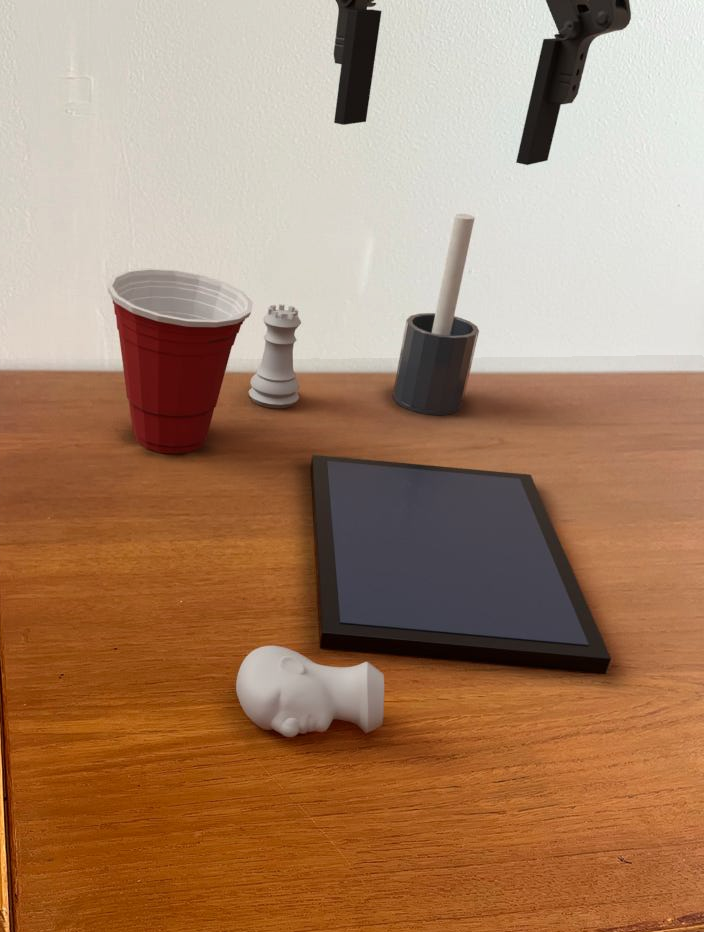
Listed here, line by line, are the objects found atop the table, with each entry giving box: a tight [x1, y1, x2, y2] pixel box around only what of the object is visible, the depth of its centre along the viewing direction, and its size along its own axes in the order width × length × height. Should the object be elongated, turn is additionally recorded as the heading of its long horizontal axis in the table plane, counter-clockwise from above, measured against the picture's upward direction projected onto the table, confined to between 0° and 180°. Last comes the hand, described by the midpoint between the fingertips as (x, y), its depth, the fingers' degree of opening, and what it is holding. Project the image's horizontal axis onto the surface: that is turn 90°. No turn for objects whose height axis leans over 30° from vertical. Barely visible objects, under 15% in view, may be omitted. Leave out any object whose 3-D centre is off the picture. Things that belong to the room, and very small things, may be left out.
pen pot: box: [392, 312, 480, 416], centre depth 91 cm, size 6×6×7 cm
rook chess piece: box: [248, 303, 302, 409], centre depth 89 cm, size 4×4×8 cm
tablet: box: [309, 454, 612, 675], centre depth 70 cm, size 17×24×1 cm
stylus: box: [432, 213, 475, 336], centre depth 89 cm, size 2×2×16 cm
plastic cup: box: [106, 268, 253, 454], centre depth 79 cm, size 11×11×12 cm
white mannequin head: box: [235, 645, 385, 738], centre depth 54 cm, size 4×8×5 cm
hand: (436, 141), depth 66 cm, fingers open, 13 cm apart
